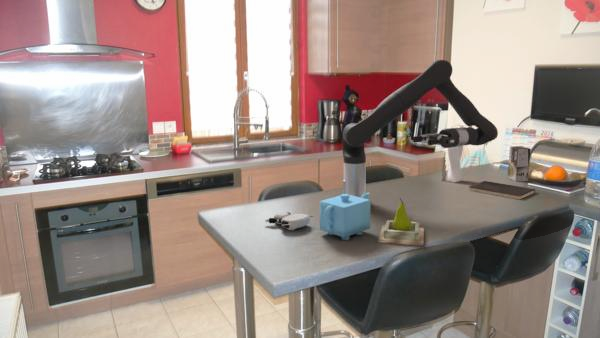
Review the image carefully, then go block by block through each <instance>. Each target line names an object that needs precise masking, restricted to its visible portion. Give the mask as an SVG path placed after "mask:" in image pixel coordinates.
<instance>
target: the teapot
mask: <svg viewBox="0 0 600 338" xmlns="http://www.w3.org/2000/svg"><path fill="white" fill-rule="evenodd" d="M370 194H371V192H369V191H368V192H365V193H364V194H363V195H362V197H356V196H352V195H348V194H343V193H341V194H340V195H337V196H333V197H330V198H326V199H323V200H319V230H321V231H323V232H326V234H327V235H328V234H329V235H328V236H334V235H335V236H337V237H340V238H341V240H342V241H349V240H351V238H350V236H353V235H357V236H362V235H364V231H366V230H369V229H371V199H368V198H367V197H368V196H369V195H370Z"/></svg>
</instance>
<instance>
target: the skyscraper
mask: <svg viewBox="0 0 600 338" xmlns="http://www.w3.org/2000/svg"><path fill="white" fill-rule="evenodd" d="M459 126H460V127H459ZM455 127H459V128H463V126H462V125H461V124H454V125H453V126H451V127H450V128H455ZM463 150H464V145H463V146H459V147H451V148H447V154H448V161H449V162H448V167H447V164H446V158H443V165H442V175H441V176H442V178H441V182H445V183H452V184H455V183H459V182H461V181H462V169H461V168H462V167H461V158H462V155H463ZM446 171H447V172H446Z"/></svg>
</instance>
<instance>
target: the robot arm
mask: <svg viewBox="0 0 600 338" xmlns="http://www.w3.org/2000/svg"><path fill="white" fill-rule="evenodd" d="M452 75H453V66H452V63H450V61H448V60H446V59H438V60H435V61H433V62H431V64H429V65H428V66H427V68H426V69H425V70H424V71H423V72H422V73H421V74H419V76H417V77H415V79H413V80H411V81H410V82H408V83H406V84H404V85H403V86H401V87H399V88H398V89H396V90H395V91H393V92H392V93H391V94H389V95H388V96H387V97H386V98H384V99H383V100H382V101H381V102H380V103H379V104H378V105H377V106H376V107H375V108H374V110H373V111H372V112H371V113H370V114H369V115H368V116H366V117H365V118H363V119H362V120H360V121H359V122H357V123H356V122H351V123H349V124H347V125H345V127H344V128H343V130H342V137H341V138H342V156H343V180H342V194H348V195H352V196H356V197H362V195H363V194H364V193H366V185H367V184H366V180H367V179H366V177H367V176H366V174H367V173H366V172H367V170H366V166H367V165H366V164H367V162H366V161H367V160H366V159H367V156H366V152H365V151H366V150H365V144H366V143H367V142H368V141H369V140H370V139H371V138H372V137H374V135H376V133H377V132H379V131H380V130H381V129H383V128H384V127H386V126H387V125H389V124H391V123H392V122H393V121H395V120H396V119H397V118H399V117H401V116H402V115H404V114H405V112H407V111H408V110H410V109H411V108H412V107H413V106H415V105H416V104H417V102H419V101H420V100H422V98H423V97H424V96H425V95H427V94H428V92H430V91H432V90H434V89H436V90H437V91H438V92H439V94H441V95H442V96H443V97H444V99H445V100H446V101H447V102H448V103H449V104H450V106H451V108H452V109H453V110H454V111H455V113H456V114H457V115H458V117H459V119H461V121H462V122H463V123H464V124H465V126H466V127H461V128H460V127H453V128H451V127H450V128H442V129H441V130H440V131H439V133H424V134H417V135H416V136H412V143H426V144H427V146H436V145H437V146H440V147H442V148H444V149H448V148H451V147H459V146H463V147H464V146H482V145H484V144H487V143H490V142H492V141H494V140H496V139H497V138H498V134H499V131H498V128H497V127H496V125H495V124H494V123H493V122H491V121H490V120H489V119H488V118H487V117H485V116H484V115H483V114H482V113H480V112H479V110H478V109H477V107H476V106H475V105H474V103H473V102H472V101H471V99H469V98H468V97H467V96H466V95H465V94H464V93H462V92H461V91H460V89H458V87H456V85H455V84H454V82H453V81H452V80H451V76H452ZM472 126H473V127H472Z"/></svg>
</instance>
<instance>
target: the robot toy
mask: <svg viewBox="0 0 600 338" xmlns="http://www.w3.org/2000/svg"><path fill="white" fill-rule="evenodd" d="M313 217H315V215H314V214H313V215H309V214H305V213H294V214H291V212H279V213H277V214H274V215H273V217H270V218H267V219H265V220H264V221H265V222H266V223H268V224H277V225H278V224H281V225H280V226H281V228H284V229H286V230H288V231H290V230H292V231H295V230H296V229H299V228H303V227H305V226H307V225H308V224H310V223H311V219H310V218H313Z"/></svg>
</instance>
